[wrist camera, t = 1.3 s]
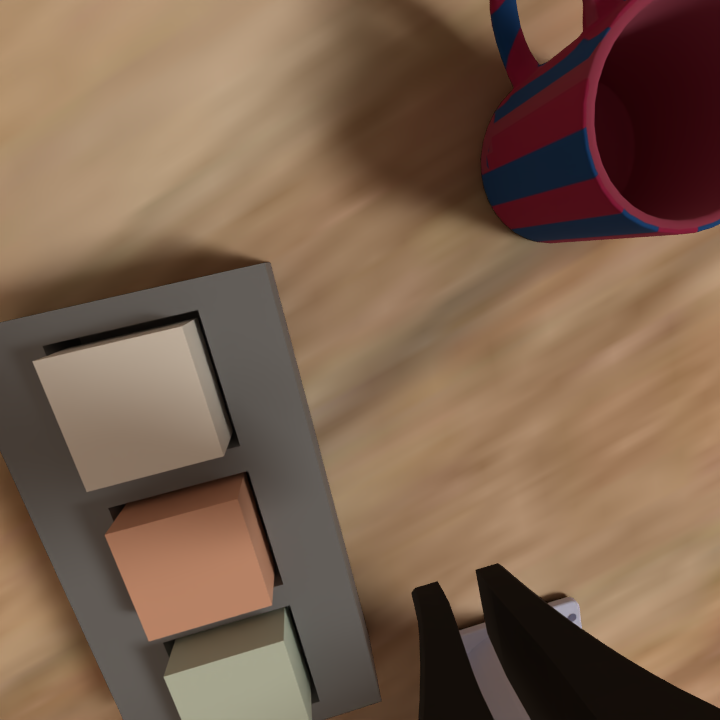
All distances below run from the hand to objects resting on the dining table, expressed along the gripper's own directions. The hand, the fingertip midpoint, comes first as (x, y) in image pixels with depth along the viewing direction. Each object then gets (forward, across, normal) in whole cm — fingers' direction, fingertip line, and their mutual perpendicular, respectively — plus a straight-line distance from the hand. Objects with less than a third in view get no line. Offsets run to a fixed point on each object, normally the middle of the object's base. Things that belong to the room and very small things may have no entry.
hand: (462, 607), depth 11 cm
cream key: (+7, +8, -6) cm, 12 cm away
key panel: (+9, +8, 0) cm, 12 cm away
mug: (+10, -9, -12) cm, 18 cm away
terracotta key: (+7, +8, 0) cm, 11 cm away
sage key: (+7, +8, +6) cm, 12 cm away
